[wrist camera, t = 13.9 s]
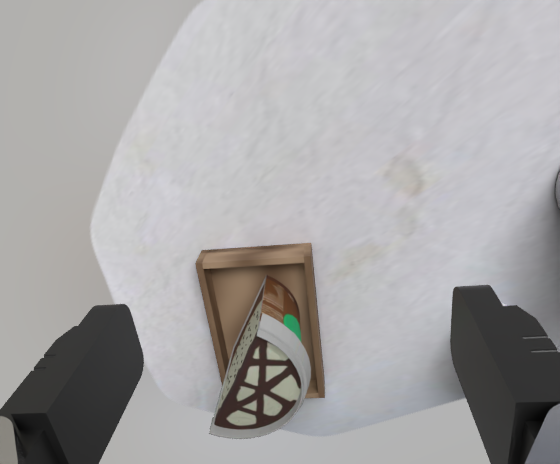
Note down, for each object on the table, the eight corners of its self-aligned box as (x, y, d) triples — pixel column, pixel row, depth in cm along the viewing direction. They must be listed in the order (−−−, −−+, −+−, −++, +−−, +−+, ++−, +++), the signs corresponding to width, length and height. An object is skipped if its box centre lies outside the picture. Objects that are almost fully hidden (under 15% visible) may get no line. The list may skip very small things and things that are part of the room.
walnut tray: (311, 242, 42) (310, 256, 40) (324, 379, 49) (324, 397, 46) (201, 250, 43) (195, 263, 41) (229, 382, 50) (225, 400, 48)
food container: (283, 377, 48) (275, 461, 39) (228, 357, 48) (207, 437, 39) (333, 285, 43) (337, 358, 34) (272, 262, 42) (259, 329, 33)
